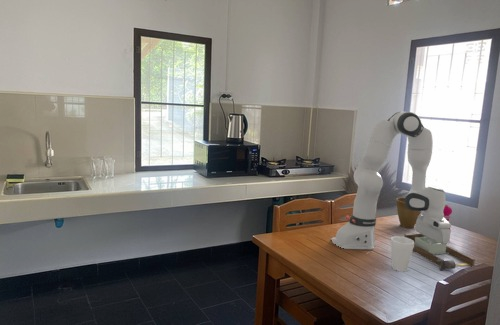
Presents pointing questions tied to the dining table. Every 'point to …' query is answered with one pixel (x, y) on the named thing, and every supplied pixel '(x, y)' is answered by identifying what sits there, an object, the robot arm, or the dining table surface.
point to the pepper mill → (447, 212)
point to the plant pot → (406, 214)
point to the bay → (440, 262)
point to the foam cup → (401, 252)
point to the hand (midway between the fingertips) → (429, 246)
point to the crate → (430, 246)
